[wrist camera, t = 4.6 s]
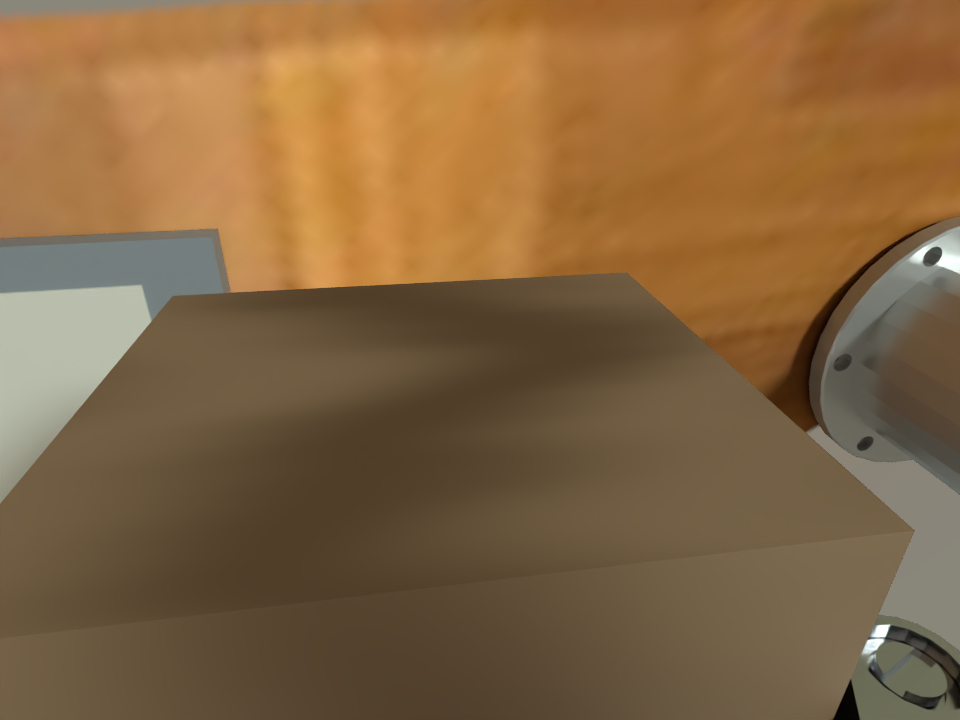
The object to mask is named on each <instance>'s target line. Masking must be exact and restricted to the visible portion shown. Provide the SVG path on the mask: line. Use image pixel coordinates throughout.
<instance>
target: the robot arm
mask: <svg viewBox="0 0 960 720" xmlns="http://www.w3.org/2000/svg"><path fill="white" fill-rule="evenodd" d="M809 394H810V404H811V407H812V410H813V413H814V416H815V419H816V421H817V422H818V424H819V425H820V427H821V428H822V430H823V431H824V432H825V434H827V435H828V436H829V437H830V438H831V439H833V440H834V441H835V442H836V443H837V444H838V445H839V446H841V447H842V448H843V449H844V450H846V451H848V452H849V453H851V454H852V455H854V456H856V457H860V458H864V459H867V460H871V461H878V462H898V461H906V460H914V461H915V462H916V463H918V464H919V465H921V466H922V467H923V468H925V469H926V470H927V471H929V472H930V473H931V474H933V475H934V476H935V477H937V478H938V479H939V480H941V481H942V482H943V483H945V484H946V485H948V486H949V487H950V488H951V489H953V490H954V491H955V492H957V493H958V494H960V216H959V217H955V218H951V219H947V220H944V221H942V222H939V223H937V224H935V225H933V226H930V227H928V228H926V229H924V230H921V231H919V232H918V233H916V234H914V235H913V236H911V237H910V238H908V239H906V240H905V241H903V242H902V243H900V244H898V245H897V246H895V247H894V248H892V249H891V250H890V251H889V252H888V253H886V254H885V255H884V256H883V257H882V258H880V259H879V260H878V261H877V262H876V263H874V264H873V265H872V266H871V267H870V268H869V269H868V270H867V271H866V272H865V273H864V274H863V275H862V276H861V277H860V278H859V279H858V281H857V282H856V283H855V284H854V285H853V286H852V287H851V288H850V289H849V290H848V292H847V293H846V295H845V296H844V298H843V299H842V300H841V302H840V303H839V305H838V306H837V307H836V309H835V310H834V312H833V313H832V315H831V317H830V319H829V321H828V323H827V325H826V327H825V328H824V330H823V332H822V334H821V336H820V339H819V342H818V344H817V347H816V350H815V353H814V356H813V359H812V364H811V371H810V378H809ZM833 720H960V651H959V650H958V649H957V648H955V647H954V646H952V645H951V644H950V643H948V642H947V641H946V640H945V639H943V638H942V637H940V636H939V635H937V634H936V633H934V632H932V631H930V630H928V629H926V628H924V627H922V626H920V625H918V624H916V623H913V622H910V621H907V620H904V619H901V618H898V617H892V616H884V615H878V617H877V619H876V621H875V624H874V626H873V628H872V630H871V633H870V635H869V637H868V640H867V642H866V644H865V647H864V649H863V651H862V654H861V656H860V658H859V661H858V663H857V665H856V668H855V670H854V672H853V674H852V677H851V679H850V681H849V684H848V686H847V688H846V691H845V693H844V695H843V698H842V700H841V702H840V705H839V707H838V709H837V711H836V714H835V716H834V718H833Z"/></svg>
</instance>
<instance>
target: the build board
mask: <svg viewBox="0 0 960 720" xmlns="http://www.w3.org/2000/svg"><path fill="white" fill-rule="evenodd" d="M218 293H230V288H229V283H228V278H227V273H226V268H225V263H224V258H223V253H222V248H221V243H220V238H219V233H218V229H205V230H183V231H161V232H139V233H117V234H96V235H74V236H52V237H30V238H8V239H0V503H1V502H2V501H3V500H4V499H5V497H6V496H7V495H8V494H9V493H10V491H11V490H12V489H13V488H14V486H15V485H16V484H17V483H18V482H19V480H20V479H21V478H22V477H23V476H24V474H25V473H26V472H27V471H28V470H29V468H30V467H31V466H32V465H33V464H34V462H35V461H36V460H37V459H38V458H39V456H40V455H41V454H42V453H43V452H44V450H45V449H46V448H47V447H48V446H49V444H50V443H51V442H52V441H53V439H54V438H55V437H56V436H57V435H58V433H59V432H60V431H61V430H62V429H63V427H64V426H65V425H66V424H67V423H68V421H69V420H70V419H71V418H72V417H73V415H74V414H75V413H76V412H77V411H78V409H79V408H80V407H81V406H82V405H83V403H84V402H85V401H86V400H87V399H88V397H89V396H90V395H91V394H92V392H93V391H94V390H95V389H96V388H97V386H98V385H99V384H100V383H101V382H102V380H103V379H104V378H105V377H106V376H107V374H108V373H109V372H110V371H111V370H112V368H113V367H114V366H115V365H116V364H117V362H118V361H119V360H120V359H121V358H122V356H123V355H124V354H125V353H126V352H127V350H128V349H129V348H130V347H131V345H132V344H133V343H134V342H135V341H136V339H137V338H138V337H139V336H140V335H141V333H142V332H143V331H144V330H145V329H146V327H147V326H148V325H149V324H150V323H151V321H152V320H153V319H154V318H155V317H156V315H157V314H158V313H159V312H160V311H161V309H162V308H163V307H164V306H165V305H166V303H167V302H168V301H169V300H170V298H171V297H172V296H179V295H198V294H218Z"/></svg>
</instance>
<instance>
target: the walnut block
mask: <svg viewBox="0 0 960 720" xmlns="http://www.w3.org/2000/svg"><path fill="white" fill-rule="evenodd" d="M914 531H915V530H913V529H912V528H911V527H910V526H909V525H908V524H907V523H906V522H905V521H904V520H902V519H901V518H900V517H899V516H898V515H897V514H896V513H895V512H893V511H892V510H891V509H890V508H889V507H888V506H887V505H885V503H883V502H882V501H881V500H880V499H879V498H878V497H877V496H876V495H874V494H873V493H872V492H871V491H870V490H869V489H868V488H867V487H866V486H864V485H863V484H862V483H861V482H860V481H859V480H858V479H857V478H856V477H854V476H853V475H852V474H851V473H850V472H849V471H848V470H846V469H845V468H844V467H843V466H842V465H841V464H840V463H839V462H838V461H836V460H835V459H834V458H833V457H832V456H831V455H830V454H829V453H828V452H826V451H825V450H824V449H823V448H822V447H821V446H820V445H819V444H817V443H816V442H815V441H814V440H813V439H812V438H811V437H810V436H809V435H808V434H806V433H805V432H804V431H803V430H802V429H801V428H800V427H799V426H797V425H796V424H795V423H794V422H793V421H792V420H791V419H790V418H789V417H787V416H786V415H785V414H784V413H783V412H782V411H781V410H780V409H778V408H777V407H776V406H775V405H774V404H773V403H772V402H771V401H770V400H768V399H767V398H766V397H765V396H764V395H763V394H762V393H761V392H760V391H758V390H757V389H756V388H755V387H754V386H753V385H752V384H751V383H749V382H748V381H747V380H746V379H745V378H744V377H743V376H742V375H741V374H739V373H738V372H737V371H736V370H735V369H734V368H733V367H732V366H730V365H729V364H728V363H727V362H726V361H725V360H724V359H723V358H722V357H720V356H719V355H718V354H717V353H716V352H715V351H714V350H713V349H711V348H710V347H709V346H708V345H707V344H706V343H705V342H704V341H703V340H701V339H700V338H699V337H698V336H697V335H696V334H695V333H694V332H693V331H691V330H690V329H689V328H688V327H687V326H686V325H685V324H684V323H682V322H681V321H680V320H679V319H678V318H677V317H676V316H675V315H674V314H672V313H671V312H670V311H669V310H668V309H667V308H666V307H665V306H663V305H662V304H661V303H660V302H659V301H658V300H657V299H656V298H655V297H653V296H652V295H651V294H650V293H649V292H648V291H647V290H646V289H645V288H643V287H642V286H641V285H640V284H639V283H638V282H637V281H636V280H634V279H633V278H632V277H631V276H630V275H629V274H628V273H610V274H590V275H570V276H551V277H531V278H512V279H492V280H472V281H453V282H433V283H414V284H394V285H375V286H355V287H335V288H316V289H296V290H277V291H257V292H237V293H218V294H198V295H179V296H172V297H171V298H170V300H169V301H168V302H167V303H166V305H165V306H164V307H163V308H162V309H161V311H160V312H159V313H158V314H157V315H156V317H155V318H154V319H153V320H152V321H151V323H150V324H149V325H148V326H147V327H146V329H145V330H144V331H143V332H142V333H141V335H140V336H139V337H138V338H137V339H136V341H135V342H134V343H133V344H132V345H131V347H130V348H129V349H128V350H127V352H126V353H125V354H124V355H123V356H122V358H121V359H120V360H119V361H118V362H117V364H116V365H115V366H114V367H113V368H112V370H111V371H110V372H109V373H108V374H107V376H106V377H105V378H104V379H103V380H102V382H101V383H100V384H99V385H98V386H97V388H96V389H95V390H94V391H93V392H92V394H91V395H90V396H89V397H88V399H87V400H86V401H85V402H84V403H83V405H82V406H81V407H80V408H79V409H78V411H77V412H76V413H75V414H74V415H73V417H72V418H71V419H70V420H69V421H68V423H67V424H66V425H65V426H64V427H63V429H62V430H61V431H60V432H59V433H58V435H57V436H56V437H55V438H54V439H53V441H52V442H51V443H50V444H49V446H48V447H47V448H46V449H45V450H44V452H43V453H42V454H41V455H40V456H39V458H38V459H37V460H36V461H35V462H34V464H33V465H32V466H31V467H30V468H29V470H28V471H27V472H26V473H25V474H24V476H23V477H22V478H21V479H20V480H19V482H18V483H17V484H16V485H15V486H14V488H13V489H12V490H11V491H10V493H9V494H8V495H7V496H6V497H5V499H4V500H3V501H2V502H1V503H0V720H833V718H834V716H835V714H836V711H837V709H838V707H839V705H840V702H841V700H842V698H843V695H844V693H845V691H846V688H847V686H848V684H849V681H850V679H851V677H852V674H853V672H854V670H855V668H856V665H857V663H858V661H859V658H860V656H861V654H862V651H863V649H864V647H865V644H866V642H867V640H868V637H869V635H870V633H871V630H872V628H873V626H874V624H875V621H876V619H877V617H878V614H879V612H880V610H881V607H882V605H883V603H884V600H885V598H886V596H887V593H888V591H889V589H890V587H891V584H892V582H893V579H894V577H895V574H896V573H897V570H898V568H899V566H900V563H901V561H902V559H903V556H904V554H905V552H906V550H907V547H908V545H909V543H910V540H911V538H912V536H913V533H914Z"/></svg>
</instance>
